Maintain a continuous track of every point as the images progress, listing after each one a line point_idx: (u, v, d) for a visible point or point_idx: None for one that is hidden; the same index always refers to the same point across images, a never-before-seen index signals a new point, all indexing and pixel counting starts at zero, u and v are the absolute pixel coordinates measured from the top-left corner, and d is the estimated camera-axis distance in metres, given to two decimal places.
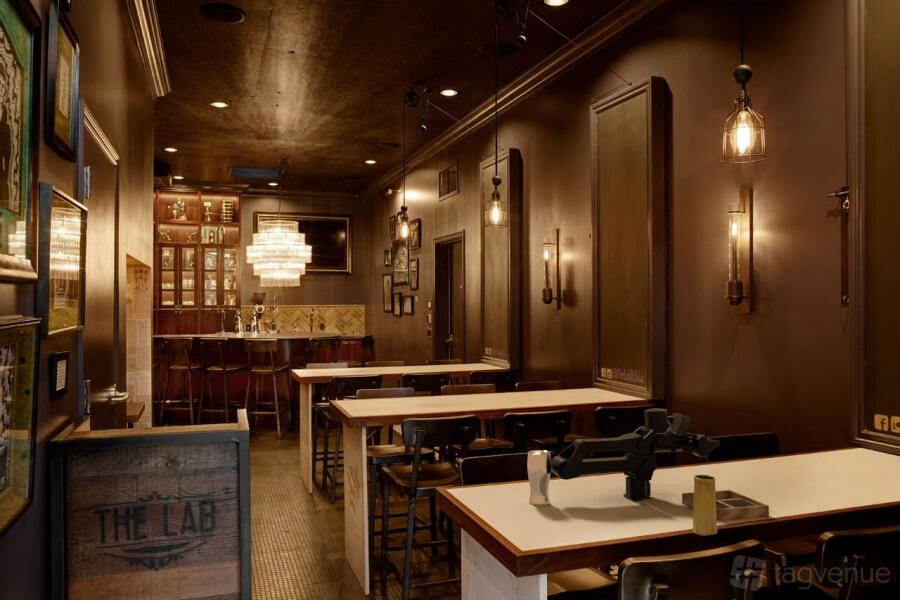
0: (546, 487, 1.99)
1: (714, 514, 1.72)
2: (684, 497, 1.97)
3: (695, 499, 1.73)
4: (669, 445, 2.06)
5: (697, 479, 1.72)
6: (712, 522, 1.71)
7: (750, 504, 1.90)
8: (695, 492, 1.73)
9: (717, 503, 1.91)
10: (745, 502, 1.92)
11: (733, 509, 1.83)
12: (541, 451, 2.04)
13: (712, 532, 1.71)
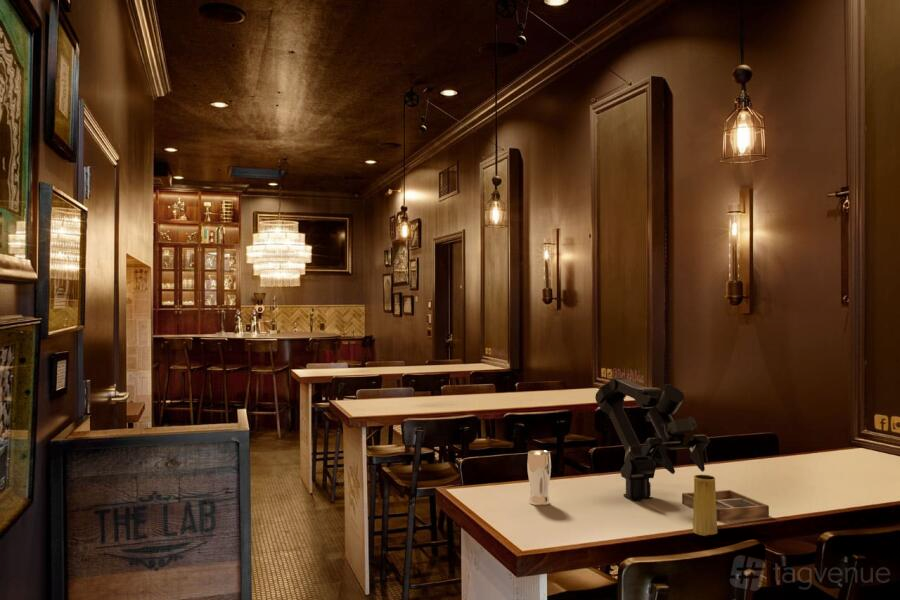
0: (546, 487, 1.99)
1: (714, 514, 1.72)
2: (684, 497, 1.97)
3: (695, 499, 1.73)
4: (654, 424, 1.92)
5: (697, 479, 1.72)
6: (712, 522, 1.71)
7: (750, 504, 1.90)
8: (695, 492, 1.73)
9: (717, 503, 1.91)
10: (745, 502, 1.92)
11: (733, 509, 1.83)
12: (541, 451, 2.04)
13: (712, 532, 1.71)
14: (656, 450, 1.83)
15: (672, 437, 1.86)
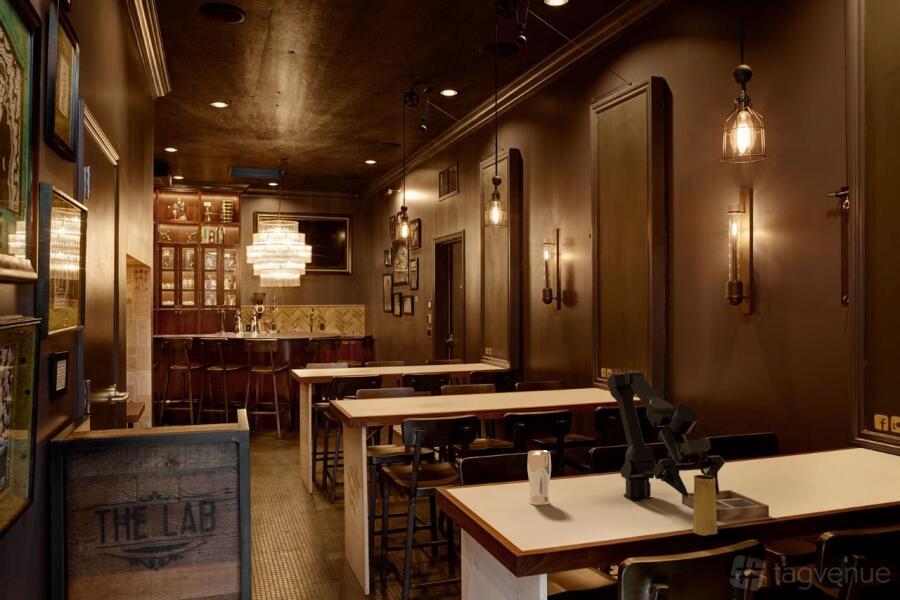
0: (546, 487, 1.99)
1: (714, 514, 1.72)
2: (684, 497, 1.97)
3: (695, 499, 1.73)
4: (667, 444, 1.85)
5: (697, 479, 1.72)
6: (712, 522, 1.71)
7: (750, 504, 1.90)
8: (695, 492, 1.73)
9: (717, 503, 1.91)
10: (745, 502, 1.92)
11: (733, 509, 1.83)
12: (541, 451, 2.04)
13: (712, 532, 1.71)
14: (668, 472, 1.76)
15: (685, 458, 1.79)
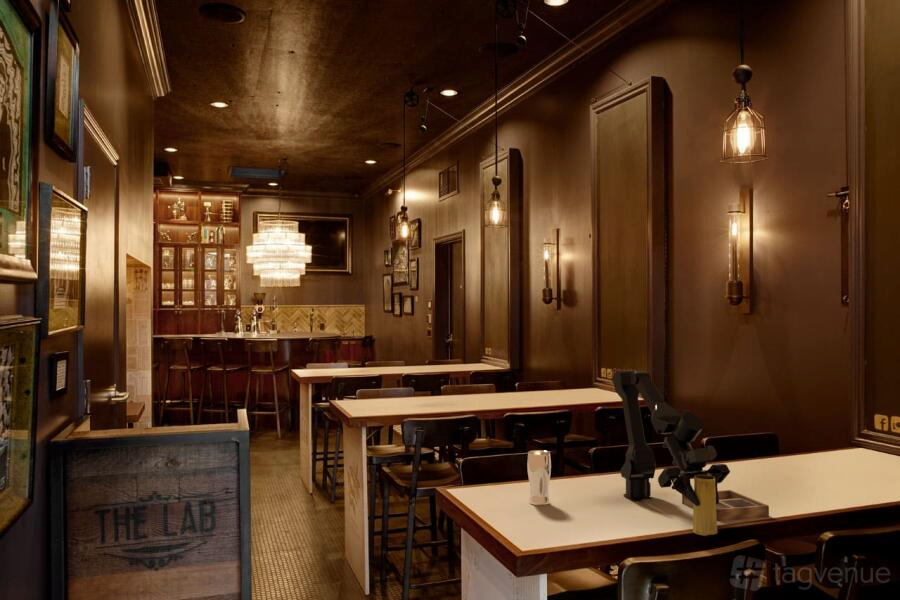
0: (546, 487, 1.99)
1: (714, 514, 1.72)
2: (684, 497, 1.97)
3: None
4: (671, 452, 1.83)
5: (697, 479, 1.72)
6: (712, 522, 1.71)
7: (750, 504, 1.90)
8: (695, 492, 1.73)
9: None
10: (745, 502, 1.92)
11: (733, 509, 1.83)
12: (541, 451, 2.04)
13: (712, 532, 1.71)
14: (679, 480, 1.74)
15: (690, 467, 1.77)
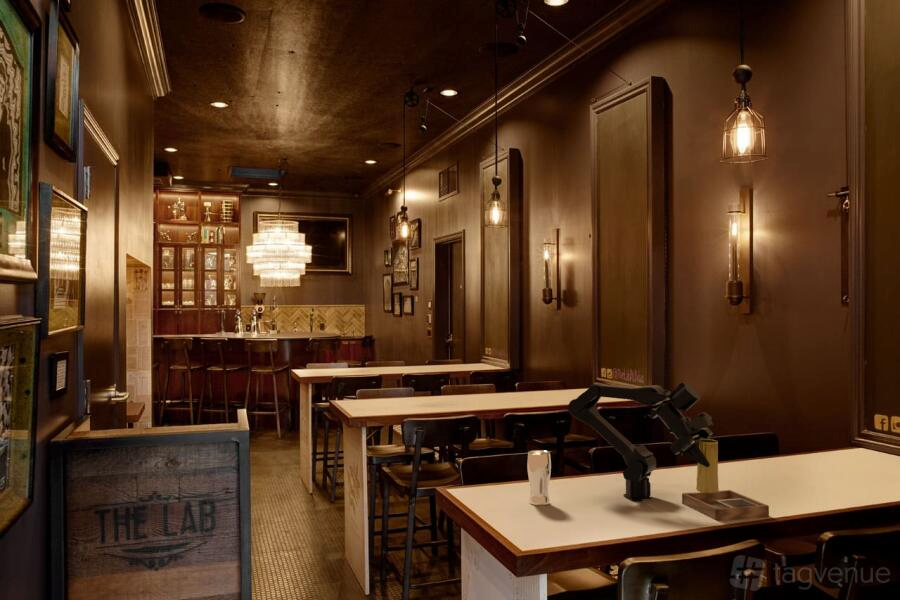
0: (546, 487, 1.99)
1: None
2: (684, 497, 1.97)
3: None
4: (669, 421, 1.97)
5: (707, 443, 1.90)
6: (717, 480, 1.91)
7: (750, 504, 1.90)
8: (704, 455, 1.91)
9: (717, 503, 1.91)
10: (745, 502, 1.92)
11: (733, 509, 1.83)
12: (541, 451, 2.04)
13: (717, 489, 1.91)
14: (692, 446, 1.90)
15: (693, 433, 1.94)
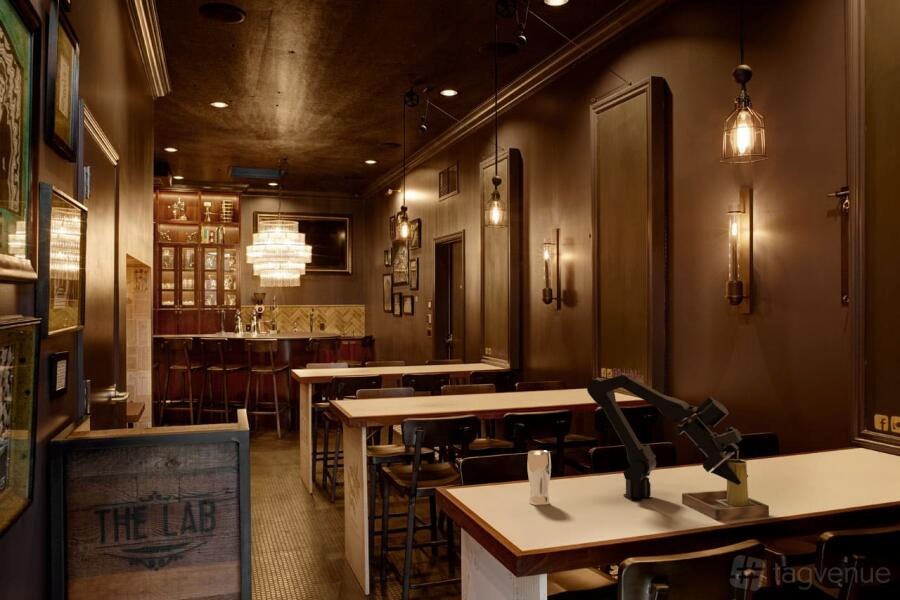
0: (546, 487, 1.99)
1: None
2: (684, 497, 1.97)
3: (733, 483, 1.87)
4: (697, 438, 1.93)
5: (737, 463, 1.87)
6: (748, 501, 1.88)
7: (750, 504, 1.90)
8: None
9: (717, 503, 1.91)
10: None
11: (733, 509, 1.83)
12: (541, 451, 2.04)
13: None
14: (723, 463, 1.85)
15: None
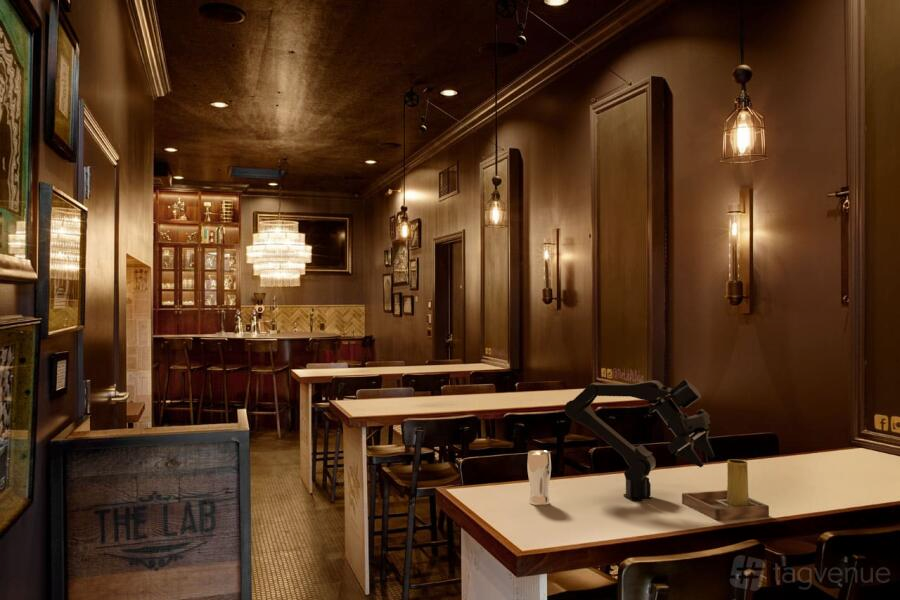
0: (546, 487, 1.99)
1: None
2: (684, 497, 1.97)
3: (734, 483, 1.88)
4: (668, 417, 1.99)
5: (738, 464, 1.87)
6: (748, 501, 1.88)
7: (750, 504, 1.90)
8: (734, 476, 1.88)
9: (717, 503, 1.91)
10: None
11: (733, 509, 1.83)
12: (541, 451, 2.04)
13: None
14: (687, 447, 1.91)
15: (690, 431, 1.96)
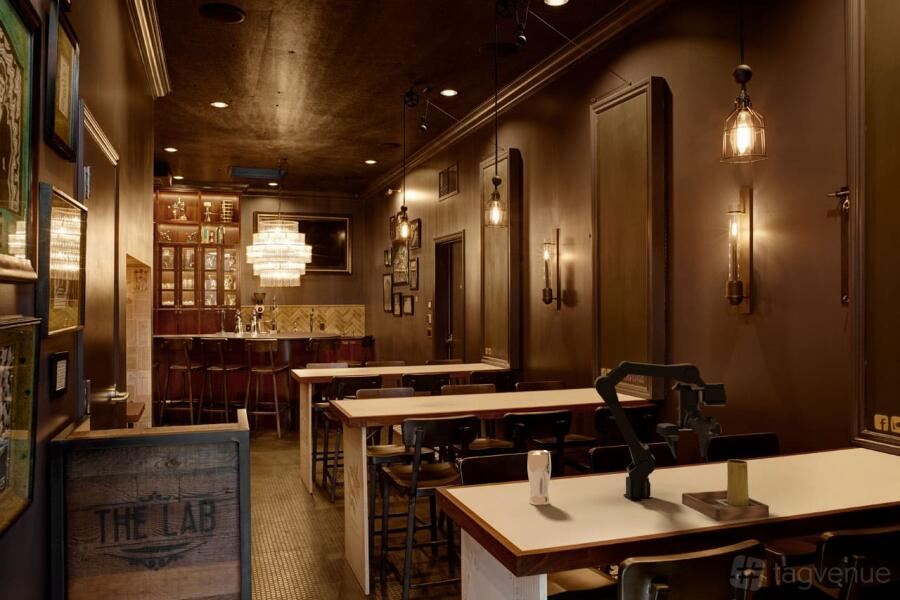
0: (546, 487, 1.99)
1: None
2: (684, 497, 1.97)
3: (734, 483, 1.88)
4: (688, 405, 2.01)
5: (738, 464, 1.87)
6: (748, 501, 1.88)
7: (750, 504, 1.90)
8: (734, 476, 1.88)
9: (717, 503, 1.91)
10: None
11: (733, 509, 1.83)
12: (541, 451, 2.04)
13: None
14: None
15: (689, 427, 2.01)
